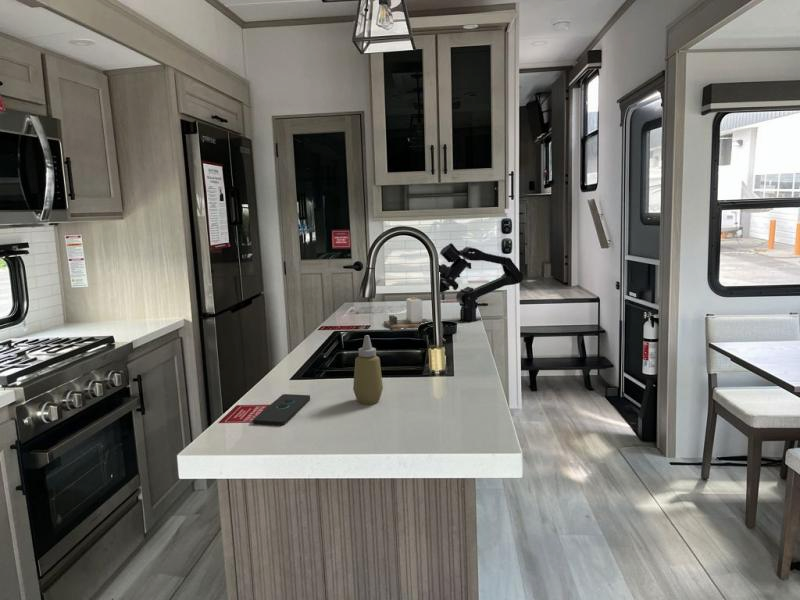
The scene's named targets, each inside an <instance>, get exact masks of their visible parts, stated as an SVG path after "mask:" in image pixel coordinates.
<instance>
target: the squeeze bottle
mask: <svg viewBox="0 0 800 600" xmlns="http://www.w3.org/2000/svg"><path fill="white" fill-rule="evenodd" d="M383 384H384V383H383V377H382V369H381V359H380V357H379V356H377V348H375V347H373V345H372V342H371V338H370V335H368V334H366V335H364V339H363V344H362V347H360V348H358V356H356V357H355V361H354V372H353V387H352V390H353V393H354V396H355V398H356V399H355V400H356V401H357V402H358V404H363V405H373V404H376V403H378V402H380V399H381V396H382V392H383V389H384V385H383Z"/></svg>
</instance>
